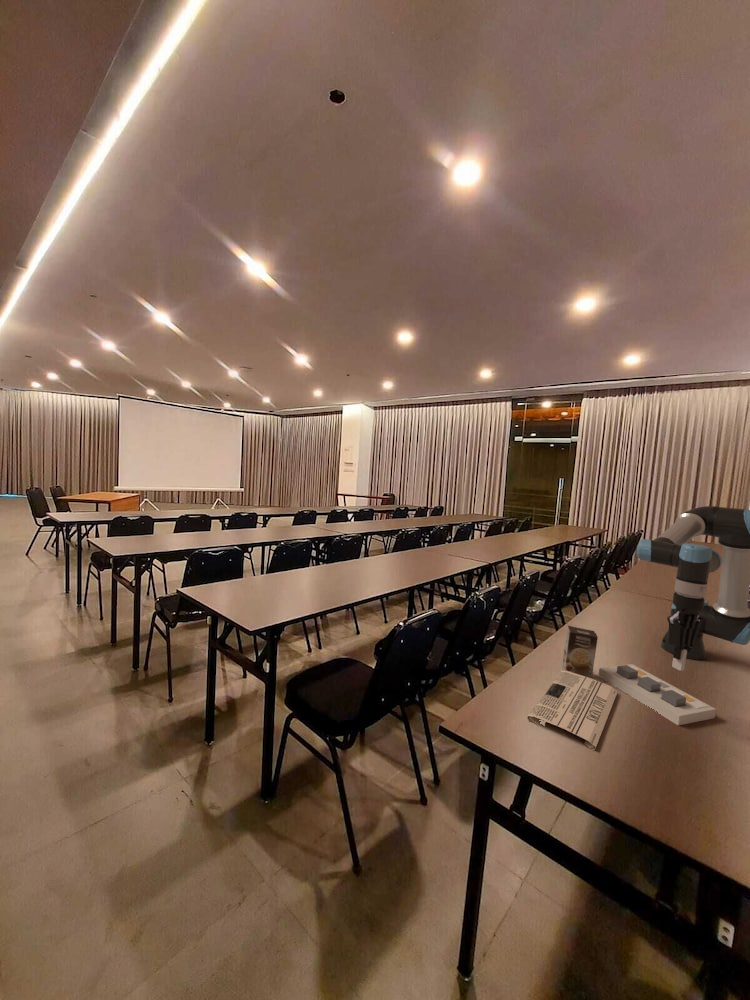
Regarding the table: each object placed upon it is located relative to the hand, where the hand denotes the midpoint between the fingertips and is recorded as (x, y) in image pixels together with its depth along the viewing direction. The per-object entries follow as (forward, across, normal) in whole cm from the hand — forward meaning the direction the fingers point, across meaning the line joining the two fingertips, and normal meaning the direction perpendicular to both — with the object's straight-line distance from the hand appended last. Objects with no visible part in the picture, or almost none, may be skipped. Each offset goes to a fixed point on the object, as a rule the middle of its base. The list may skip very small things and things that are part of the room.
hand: (677, 668), depth 125 cm
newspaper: (+15, -29, +8) cm, 34 cm away
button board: (+14, +2, +8) cm, 16 cm away
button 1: (+12, 0, +16) cm, 20 cm away
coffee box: (+14, -13, +25) cm, 31 cm away
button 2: (+12, 0, 0) cm, 12 cm away
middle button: (+12, 0, +8) cm, 14 cm away
